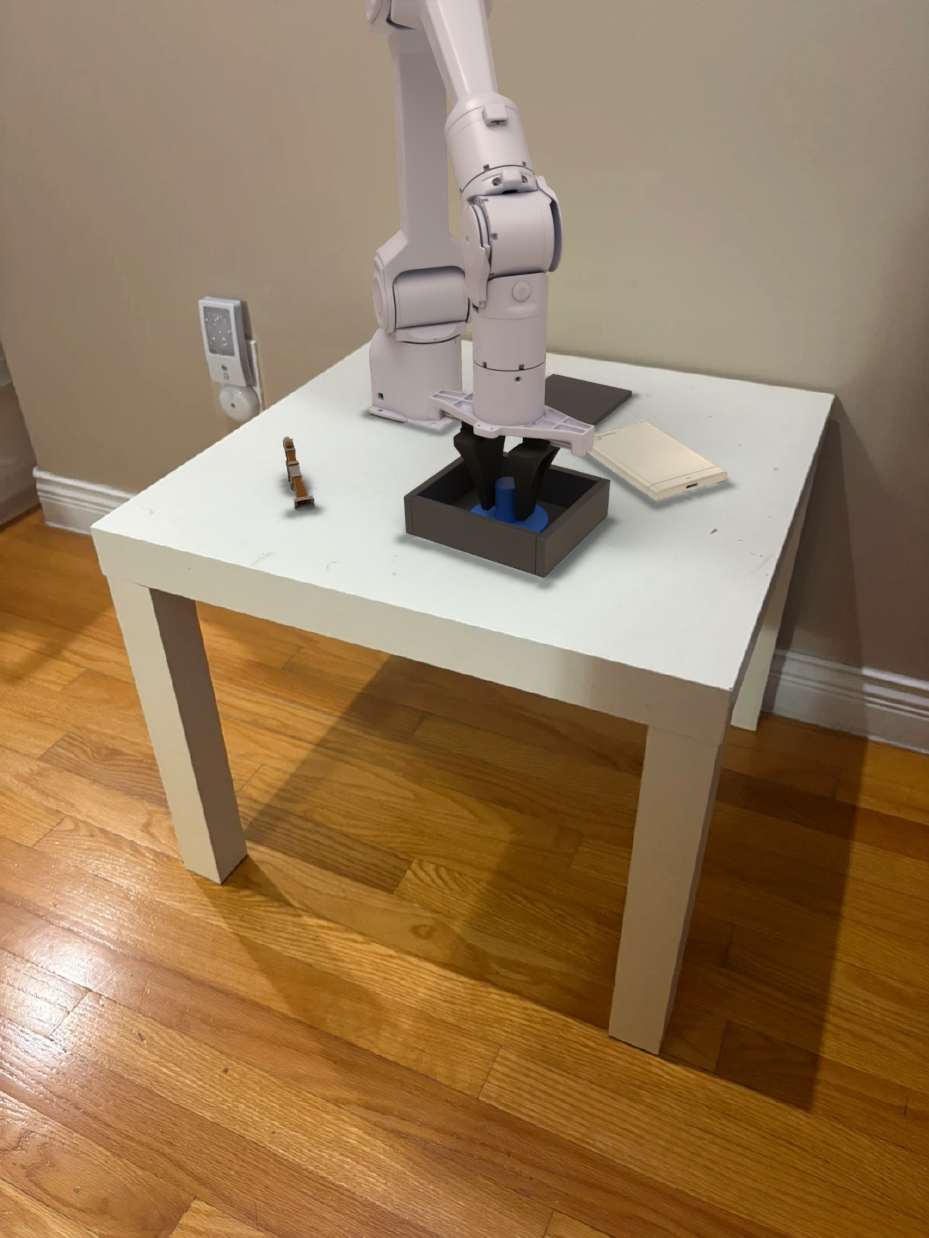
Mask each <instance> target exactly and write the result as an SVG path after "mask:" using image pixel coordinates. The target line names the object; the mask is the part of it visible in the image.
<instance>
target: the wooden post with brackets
mask: <svg viewBox="0 0 929 1238" xmlns="http://www.w3.org/2000/svg"><path fill="white" fill-rule="evenodd" d="M282 447H283V450H284V454H285V458H286V460H285V468H286V472H287V482H288V483H290V490H293V491H294V492H295V498H293V505H294V508H298V507H299V506H305V505H310V506H312V505H313V507H315V506H316V505H315V497H314V495H313V494H312V495H309V493H308V491H307V489H306V486H305V484H304V482H303V473H302V472H301V467H300V462H299V460H297V456H296V452H297V451H296V448H295V444H294V438H291V437H289V436H284V437H283V439H282Z"/></svg>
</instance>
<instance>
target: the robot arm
mask: <svg viewBox="0 0 929 1238" xmlns="http://www.w3.org/2000/svg"><path fill="white" fill-rule="evenodd" d="M364 4H365V5H364V6H365V7H364V8H365V17H366V20H367V22H368V31H369V32H370V33H372V34H374V35H377V36H379V37H382V38H384V39H385V40H387V44H388V47H389V48H388V49H389V52H390V57H391V66H392V67H391V69H392V86H393V89H392V90H393V106H394V107H393V108H394V128H395V129H394V130H395V152H396V174H397V191H398V192H397V194H398V214H399V215H398V217H399V229H398V231H397V232H396V233H395V234H394V235H392V237H390V238H389V239H388V240H386V242H385V243H384V244H382V245H380V246H379V247H378V249H377V250H375V252H374V256H373V259H372V260H373V261H372V262H373V275H372V281H371V292H372V293H371V294H372V303H373V308H374V315H375V319H376V321H377V325H378V328H377V330H376V331H375V332H374V334H373V336H372V338H371V341H370V345H369V351H368V358H369V359H368V361H369V363H368V364H369V376H370V385H371V387H370V388H371V400H372V406H370V407H369V408H368V413H369V414H371V415H375V416H378V417H382V418H386V419H391V420H393V421H396V422H397V421H398V422H400V423H407V422H411V423H416V424H418V425H423V426H426V427H431V428H434V429H441V428H443V427H444V426H446V425H448V424H449V423H451V422H452V421H455V422H460V424H461V427H460V428H459V432H457V433H456V434H454V436H453V439H452V441H453V447H454V448H455V449H456V451H457V452H458V454H459V456H462V458H463V460H464V461H465V463H466V465H467V467H468V469H469V471H470V473H471V476H472V478H473V481H474V484H475V487H476V490H477V493H478V497H479V500H480V504H481V507H482V509H483V510H486V511H489V510H490V509H491V508H492V507H494V506H495V482H496V481H497V480H498V479H500V478H502V458H503V451H504V449H505V444H506V437H514V438H515V437H516V438H517V437H518V438H521V439H522V442H519V443H518V444H517V445H515V446H513V447H512V448H511V449H510V450H508V451H507V452H508V458H509V461H510V464H511V468H512V472H513V478H514V485H515V516H516V520H519V521H525V520H526V519H527V518H528V517H529V516H530V515H532V514H533V513H534V511H535V506H536V502H537V499H538V495H539V492H540V489H541V486H542V483H543V481H544V478H545V476H546V474H547V471H548V469H549V467H550V465H551V464H552V463H553V462H554V460H555V458H556V456H557V455H558V453H559V451H560V450H561V449H565V450H568V451H570V455H572V456H575V457H578V458H583V457H584V456H585V455H587V454H588V452H589V451H590V450H591V449H592V448H593V447H594V435H595V432H596V430H595V429H596V425H595V426H594V425H590V424H586V423H583V422H580V421H578V420H576V419H573V418H571V417H569V416H567V415H565V414H563V413H561V412H559V411H557V410H555V409H553V408H550V407H548V406H546V405H544V401H545V379H546V365H547V363H546V362H547V339H548V337H547V336H548V334H547V333H548V308H549V307H548V305H549V276H548V275H547V273H554V272H556V271H557V269H558V268H559V266H560V264H561V261H562V258H563V252H564V223H563V216H562V211H561V206H560V201H559V199H558V197H557V195H556V193H555V191H554V189H552V188H551V187H549V186H548V184H547V181H546V178H545V177H544V176H543V175H538V174H536V172H535V171H536V170H535V168H534V164H533V161H532V156H531V152H530V149H529V144H528V142H527V137H526V133H525V129H524V125H523V122H522V119H521V114H520V111H519V108H518V106H517V104H516V103H515V102H514V101H513V100H512V99H510V98H508V97H507V96H505V95H501V94H500V92H499V86H498V80H497V73H496V67H495V61H494V55H493V49H492V44H491V43H492V42H491V36H490V31H489V24H488V19H489V18H491V14H492V9H493V5H494V0H364ZM447 96H448V100H449V103H450V105H451V108H452V110H451V112H450V113H449V115H447V113H448V111H447V110H448V109H447ZM448 155H449V159H450V163H451V167H452V170H453V175H454V179H455V182H456V187H457V190H458V196H459V199H460V204H461V209H462V210H461V213H460V219H459V220H460V221H459V238H458V237H457V236H456V235H454V234H452V233H451V232H450V231H449V228H450V227H449V179H448V178H449V176H448V175H449V173H448V172H449V171H448V170H449V169H448V167H449V166H448ZM468 324H471V328H472V329H471V331H472V332H471V335H472V338H471V339H472V392H465V391H463V357H462V356H463V355H462V354H463V353H462V335H463V334H466V333H467V325H468Z"/></svg>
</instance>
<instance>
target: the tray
mask: <svg viewBox="0 0 929 1238" xmlns="http://www.w3.org/2000/svg"><path fill="white" fill-rule="evenodd" d="M508 452H509V451H504V450H503V458H502V478H503V477H513V472H512V468H511V464H510V461H509V458H508ZM610 490H611V479H609V478H605V477H602V476H598V475H594V474H591V473H587V472H583V471H579V470H575V469H572V468H568V467H565V466H560V465H557V464H552V463H551V465H550V467H549V469H548V471H547V474H546V476H545V478H544V481H543V483H542V486H541V489H540V492H539V495H538V499H537V502H536V504H537V505H539V506H540V507H542V508H543V509H544V510H545V511H546V513H547V515H548V527H547V529H545V530H544V531H543V532H542V533H539V532H536V531H533V530H529V529H526V528H523V527H519V526H516V525H513V524H510V523H506V522H503V521H500V520H496V519H493V518H490V517H487V516H483V515H480V514H477V513H473V512H470V511H471V510H472V509H473V508H474V507H476V506H477V505H479V504H480V500H479V497H478V493H477V490H476V487H475V484H474V481H473V478H472V476H471V473H470V471H469V469H468V467H467V465H466V463H465V461H464V460H463V458H462V456H461V455H459V456H458V457H456V458H455V459H454V460H452V461H451V462H450V463H448V464H447V465H445V467H443V468H441V469H440V470H439V471H437V472H436V473H434V474H433V475H432V476H430V477H429V478H428V479H425V481H423V482H422V483H420V484H419V485H418V486H416V487H415V488H413V489H411V490H410V492H408V493H407V494H405V495H404V496H403V509H404V510H403V511H404V522H405V533H406V534H409V535H412V536H414V537H418V538H421V539H423V540H427V541H430V542H433V543H435V544H439V545H441V546H445V547H448V548H451V549H454V550H456V551H457V550H458V551H460V552H463V553H467V554H469V555H472V556H475V557H479V558H481V559H485V560H488V561H491V562H494V563H497V564H499V565H504V566H507V567H509V568H512V569H515V570H518V571H522V572H524V573H527V574H531V575H534V576H536V577H540V578H542V579H545V577H546V576H547V575H548V574H550V573H551V571H553V570H554V569H555V567H557V566H558V565H559V564H560V563H561V562H562V561H563V560H564V559H565V558H567V556H568V555H569V554H570V553H571V552H572V551H573V550H574V549H575V548H576V547H578V546H579V544H580V543H581V542H582V541H583V540H585V539H586V537H588V536H589V535H590V534H591V533H592V532H594V530H595V529H596V528H597V527H598V526H599V525H600V524H601V523H602V522H603V521H604V520H605V519H606V518H607V517H608V514H609V503H610V502H609V501H610Z"/></svg>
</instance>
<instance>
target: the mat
mask: <svg viewBox="0 0 929 1238" xmlns="http://www.w3.org/2000/svg"><path fill="white" fill-rule="evenodd" d="M632 396H633V391H632V390H630V389H625V388H621V387H617V386H612V385H608V384H603V383H599V382H593V381H588V380H584V379H579V378H575V377H571V376H566V375H562V374H557V373H552V374H550V375H549V376H546V377H545V401H544V405H546V406H548V407H550V408H553V409H555V410H557V411H559V412H561V413H563V414H565V415H567V416H569V417H571V418H573V419H576V420H578V421H580V422H583V423H586V424H590V425H594V426H595V427H596V425H598V424H599V423H600V422H601V421H602V420H604V419H605V418H606V417H607V416H609V415H610V414H612V413H613V412H614V411H615V410H616V409H617V408H619V407H620V406H621V405H622V404H623V403H624V402H626V401H627V400H628V399H629V398H631V397H632Z"/></svg>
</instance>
